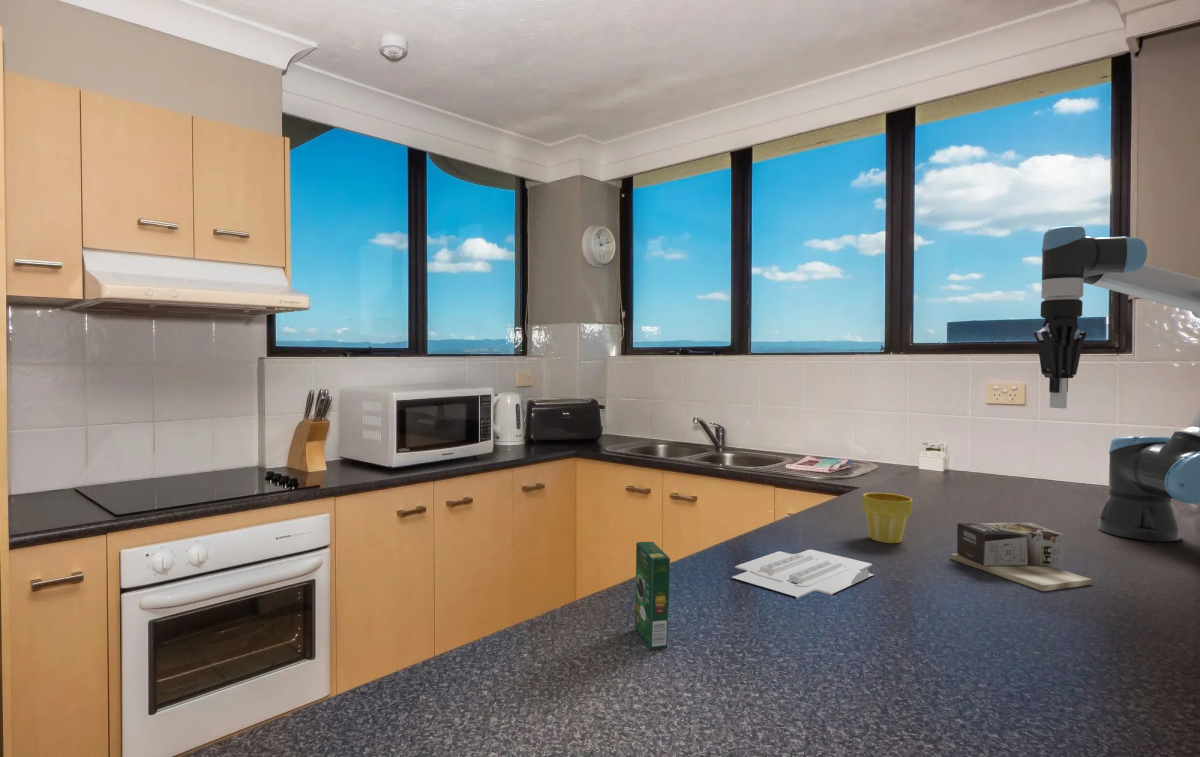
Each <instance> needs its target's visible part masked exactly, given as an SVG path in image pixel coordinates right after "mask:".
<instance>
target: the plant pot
mask: <svg viewBox="0 0 1200 757" xmlns="http://www.w3.org/2000/svg"><path fill="white" fill-rule="evenodd" d="M861 499H862V500H861V502H862V505H861V506H862V510H863V511H864V512H865V517H866V521H867V528H868V534H869V538H870V539H871V540H872V541H874V542H875V541H876V542H880V543H883V544H884V543H885V544H900V543H902V541H903V538H904V534H905V531H906V528H907V527H906V526H907V523H908V520H909V516H911V515H912V513H913V502H914V500H913V499H912V498H911V497H910V496H906V495H902V494H897V493H889V492H865V493H863V494H862V498H861Z"/></svg>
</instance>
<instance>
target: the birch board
mask: <svg viewBox="0 0 1200 757" xmlns="http://www.w3.org/2000/svg"><path fill="white" fill-rule="evenodd" d="M950 560H953V561H955V562H958V563H961V564H963V565H967V566H969V567H972V568H975V569H979V570H980V571H984V572H987V573H990V574H992V575H996V576H998V577H1001V578H1004V579H1007V580H1010V581H1013V582H1014V583H1017V584H1018V583H1019V584H1020V585H1021V584H1022V585H1024V586H1027V587H1030V588H1032V589H1036V590H1038V591H1040V592H1046V591H1047V592H1048V591H1049V592H1050V591H1054V590H1062V589H1069V588H1077V587H1083V586H1090V585H1091V586H1092V582H1093V581H1092V578H1089V577H1086V576H1083V575H1079V574H1076V573H1073V572H1070V571H1066V570H1063V569H1060V568H1058V567H1054V566H1052V565H1027V566H983V565H981V564H979V563H977V562H975V561H973V560H971V559H969V558H967V557H965V556H963V555H961V554H959V553H957V552H956V553H950Z"/></svg>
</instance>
